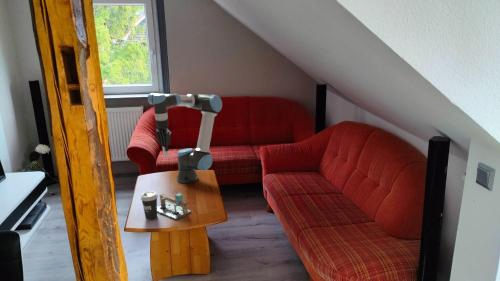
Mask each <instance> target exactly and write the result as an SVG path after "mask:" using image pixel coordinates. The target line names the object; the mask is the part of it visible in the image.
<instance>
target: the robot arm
mask: <svg viewBox="0 0 500 281" xmlns="http://www.w3.org/2000/svg"><path fill="white" fill-rule="evenodd" d="M147 102H148V103H149V104H150V105H153V110H154V119H155V126H156V129H154V132H155V135H156V137H157V138H156V139H157V142H158V145H160V146H161V149H162V150H161V151H162V155H163V157H167V156H169V146H170V145H171V138H172V133H173V132H172V131H171V130H170V129H169V127H168V126H169V118H168V117H169V115H168V109H170V108H173V107H186V108H189V109H190V108H191V109H195V110H198V111H199V110H200V112H201V114H202V118H201V121H200V128H199V132H198V134H199V135H198V138H197V144H196V148H195V149H194V148H191V147H190V148H184V149H180V150H178V151H177V156H176V157H177V158H176V159H177V164H178V165H177V166H178V171H177V172H178V173H177V176H176V181H177V183H180V184H191V183H194V182H196V181H198V179H199V176H198V174H197V171H196V170H199V171H207V170H209V168H211V166H212V164H213V157H212V155H211V151H210V143H211V141H212V140H211V139H212V133H213V127H214V122H215V117H216V116H218V113H219V112H221V110H222V108H223V101H222V98H221V96H219V95H217V94H210V93H209V94H208V93H195V94H193V93H192V94H191V93H190V94H189V93H188V94H178V93H157V92H151V93H149V94H148V96H147Z"/></svg>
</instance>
